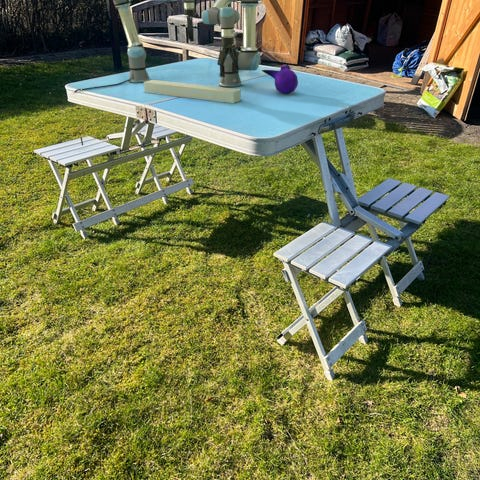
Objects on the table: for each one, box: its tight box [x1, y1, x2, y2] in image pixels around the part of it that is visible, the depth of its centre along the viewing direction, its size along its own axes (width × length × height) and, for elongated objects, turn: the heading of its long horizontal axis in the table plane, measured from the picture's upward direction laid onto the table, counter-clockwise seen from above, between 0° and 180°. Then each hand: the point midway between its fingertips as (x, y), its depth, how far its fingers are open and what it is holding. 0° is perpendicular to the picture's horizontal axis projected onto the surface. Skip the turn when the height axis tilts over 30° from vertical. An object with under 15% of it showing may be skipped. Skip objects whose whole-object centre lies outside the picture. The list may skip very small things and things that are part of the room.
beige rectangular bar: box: [143, 79, 242, 104], centre depth 292 cm, size 71×9×7 cm, turn 59°
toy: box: [261, 64, 299, 95], centre depth 294 cm, size 16×18×27 cm
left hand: (190, 40), depth 342 cm, fingers open, 13 cm apart
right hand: (228, 75), depth 273 cm, fingers open, 13 cm apart
